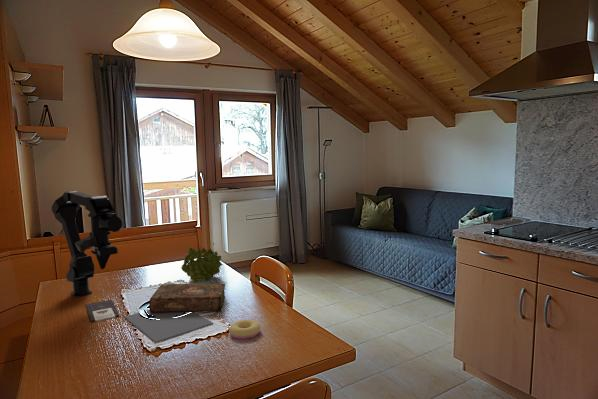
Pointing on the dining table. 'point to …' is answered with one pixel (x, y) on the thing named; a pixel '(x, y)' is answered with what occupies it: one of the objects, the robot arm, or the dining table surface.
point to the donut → (244, 329)
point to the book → (187, 298)
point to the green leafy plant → (201, 264)
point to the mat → (167, 324)
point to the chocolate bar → (101, 310)
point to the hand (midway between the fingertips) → (102, 269)
